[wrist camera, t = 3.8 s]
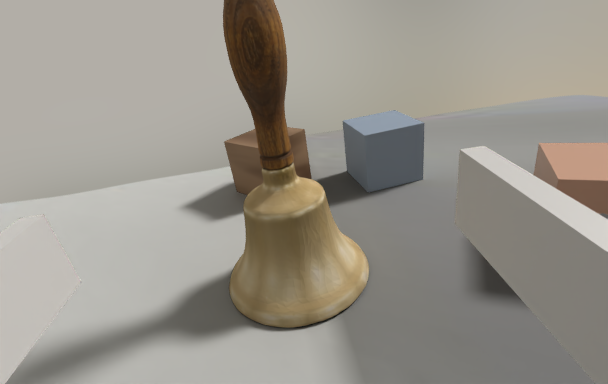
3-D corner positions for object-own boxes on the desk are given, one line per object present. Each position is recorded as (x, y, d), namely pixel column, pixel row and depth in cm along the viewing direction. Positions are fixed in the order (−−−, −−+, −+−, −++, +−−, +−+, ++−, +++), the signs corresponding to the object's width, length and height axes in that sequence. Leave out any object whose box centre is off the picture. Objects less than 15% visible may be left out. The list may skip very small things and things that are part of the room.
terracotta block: (526, 214, 23) (539, 143, 21) (622, 220, 21) (648, 142, 19) (541, 261, 19) (558, 179, 17) (661, 274, 17) (699, 183, 15)
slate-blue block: (395, 160, 34) (394, 110, 31) (422, 180, 29) (424, 122, 27) (347, 171, 33) (342, 120, 31) (368, 193, 29) (364, 135, 26)
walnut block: (274, 171, 35) (265, 124, 33) (311, 180, 32) (304, 129, 30) (236, 192, 32) (224, 141, 30) (273, 204, 29) (262, 148, 27)
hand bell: (208, 273, 22) (111, -18, 15) (312, 220, 26) (275, -30, 19) (276, 360, 16) (163, -75, 8) (400, 273, 19) (394, -74, 12)
